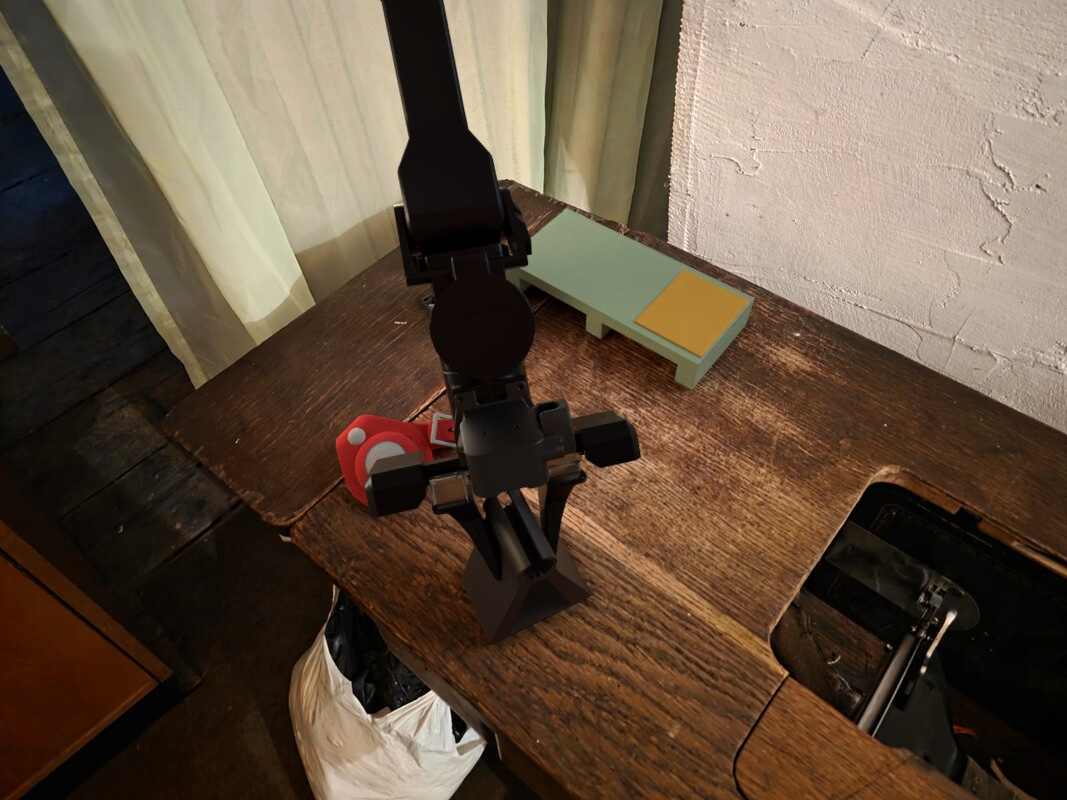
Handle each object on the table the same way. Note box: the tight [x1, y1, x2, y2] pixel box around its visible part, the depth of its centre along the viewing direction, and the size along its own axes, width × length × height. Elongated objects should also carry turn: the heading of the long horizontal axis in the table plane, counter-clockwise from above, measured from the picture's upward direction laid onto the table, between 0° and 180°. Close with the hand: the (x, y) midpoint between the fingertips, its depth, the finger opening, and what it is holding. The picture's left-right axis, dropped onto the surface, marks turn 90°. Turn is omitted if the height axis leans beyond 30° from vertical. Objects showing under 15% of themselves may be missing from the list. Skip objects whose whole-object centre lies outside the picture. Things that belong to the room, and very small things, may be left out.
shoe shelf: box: [505, 207, 755, 391], centre depth 72 cm, size 24×11×4 cm, turn 51°
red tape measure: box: [335, 412, 457, 507], centre depth 62 cm, size 12×4×10 cm
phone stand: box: [460, 489, 592, 646], centre depth 50 cm, size 9×6×12 cm, turn 115°
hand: (524, 572), depth 49 cm, fingers closed on phone stand, 3 cm apart
